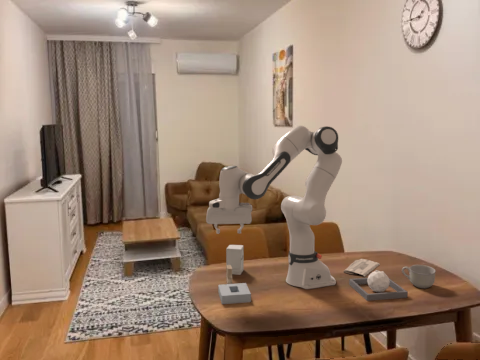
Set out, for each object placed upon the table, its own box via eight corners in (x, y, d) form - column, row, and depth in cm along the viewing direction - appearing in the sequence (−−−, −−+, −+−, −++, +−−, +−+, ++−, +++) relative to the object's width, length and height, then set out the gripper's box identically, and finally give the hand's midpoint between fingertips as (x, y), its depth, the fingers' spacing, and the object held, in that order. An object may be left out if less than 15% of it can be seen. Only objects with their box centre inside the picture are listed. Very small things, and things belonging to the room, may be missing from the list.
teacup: (438, 285, 196) (439, 268, 194) (429, 292, 188) (430, 274, 187) (407, 277, 205) (408, 261, 204) (397, 284, 197) (398, 267, 196)
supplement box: (241, 275, 210) (240, 249, 208) (226, 274, 211) (225, 248, 209) (244, 269, 217) (243, 245, 215) (229, 268, 218) (229, 244, 217)
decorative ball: (370, 289, 198) (382, 266, 195) (385, 303, 188) (397, 279, 186) (355, 286, 194) (367, 263, 191) (369, 300, 185) (381, 276, 182)
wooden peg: (230, 281, 201) (230, 265, 200) (232, 285, 196) (232, 268, 195) (226, 282, 201) (226, 265, 200) (227, 286, 196) (227, 269, 195)
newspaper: (356, 261, 231) (357, 256, 230) (379, 268, 224) (380, 263, 223) (339, 273, 213) (339, 268, 212) (363, 281, 206) (364, 276, 205)
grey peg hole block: (245, 290, 191) (245, 282, 190) (250, 302, 179) (250, 293, 179) (218, 292, 189) (218, 284, 188) (221, 304, 177) (221, 295, 177)
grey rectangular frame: (386, 281, 200) (386, 276, 200) (407, 297, 183) (407, 291, 182) (349, 284, 197) (349, 279, 197) (366, 300, 180) (367, 294, 179)
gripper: (251, 201, 197) (251, 231, 199) (206, 201, 196) (206, 231, 197) (253, 204, 191) (252, 234, 193) (206, 204, 189) (206, 235, 191)
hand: (228, 233), depth 195 cm, fingers open, 8 cm apart
